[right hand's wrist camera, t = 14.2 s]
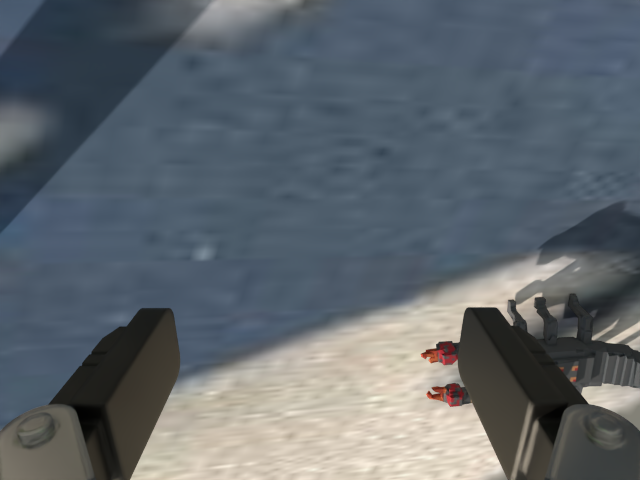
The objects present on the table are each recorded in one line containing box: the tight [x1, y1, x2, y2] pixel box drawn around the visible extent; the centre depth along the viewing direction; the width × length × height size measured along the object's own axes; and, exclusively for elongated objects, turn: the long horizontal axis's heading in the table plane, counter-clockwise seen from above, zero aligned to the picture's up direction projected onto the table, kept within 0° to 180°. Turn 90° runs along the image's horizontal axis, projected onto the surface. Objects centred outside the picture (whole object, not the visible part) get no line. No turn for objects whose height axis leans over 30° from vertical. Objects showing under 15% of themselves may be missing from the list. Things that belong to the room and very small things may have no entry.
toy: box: [421, 294, 640, 407], centre depth 40 cm, size 13×27×18 cm, turn 96°
